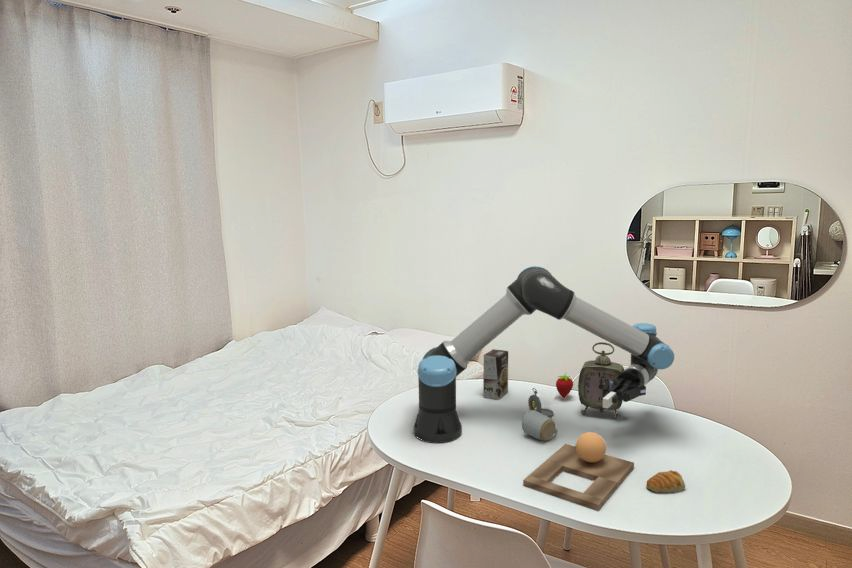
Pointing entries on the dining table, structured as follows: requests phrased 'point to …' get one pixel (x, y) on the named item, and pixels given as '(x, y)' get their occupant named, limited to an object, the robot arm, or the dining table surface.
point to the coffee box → (495, 374)
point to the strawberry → (564, 385)
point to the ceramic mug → (538, 425)
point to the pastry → (666, 482)
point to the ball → (591, 447)
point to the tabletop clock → (598, 381)
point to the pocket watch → (538, 405)
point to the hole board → (602, 472)
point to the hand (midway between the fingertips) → (605, 403)
